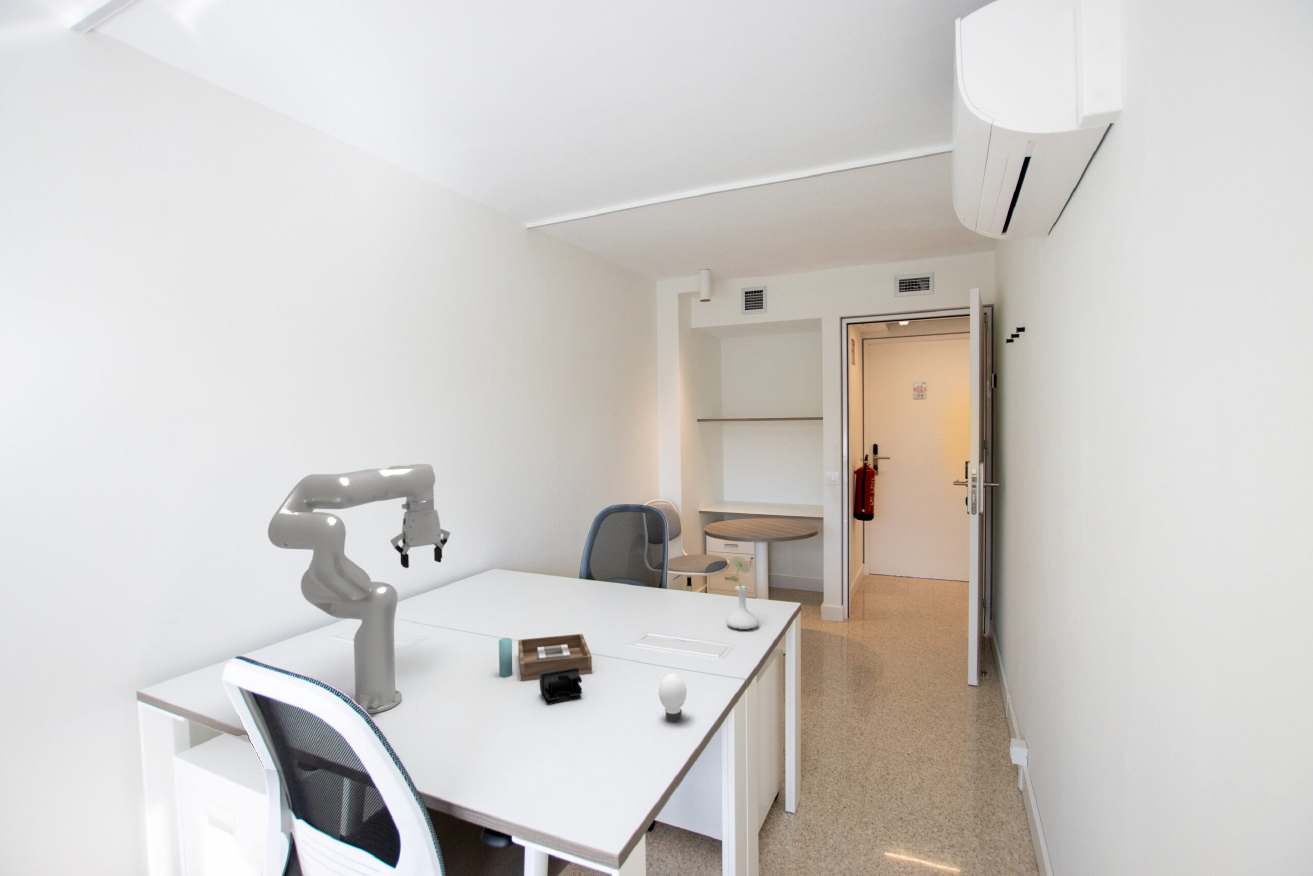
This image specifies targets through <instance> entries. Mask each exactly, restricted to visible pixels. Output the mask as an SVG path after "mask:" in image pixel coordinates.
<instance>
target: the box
mask: <svg viewBox="0 0 1313 876" xmlns="http://www.w3.org/2000/svg"><path fill="white" fill-rule="evenodd" d="M517 646H518V647H517V648H518V652H517V653H518V664H519V665H518V666H519V676H520V682H527V681H534V680H535V681H536V680H540V675H541V673H546V672H552V671H558V670H564V669H570V668H576V667H577V668H579V675H580V676H581V675H590V674H592V673H593V671H592V669H593V668H592V666H593V665H592V659H593V658H592V654H591V651H590V650H589V649H590V648H589V647H588V644H587V642H586V639H585V636H584V634H583V633H577V634H567V635H566V634H565V635H556V636H555V635H554V636H546V637H545V636H544V637H536V638H535V637H533V638H526V639H525V638H524V639H518V641H517Z"/></svg>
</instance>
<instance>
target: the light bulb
mask: <svg viewBox="0 0 1313 876" xmlns="http://www.w3.org/2000/svg"><path fill="white" fill-rule="evenodd" d="M658 696H659V700H660V702H661V703H660V704H661V705H662V706H663V707H664V711H665V720H666V721H667V722H669V723H679V722H681V721H682V718H683V715H682V714H683V713H682V712H683V711H682V710H683V709H682V708H681V707H683V705H684V704H685V701H686V699H687V686H686V682H685V681H684V678H682V677H681V676H680V675H679V674H677V673H672V672H671V673H668V674H666V675H665V676H664V677H663V678H662V679H661V681H660V683H659V686H658Z"/></svg>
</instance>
